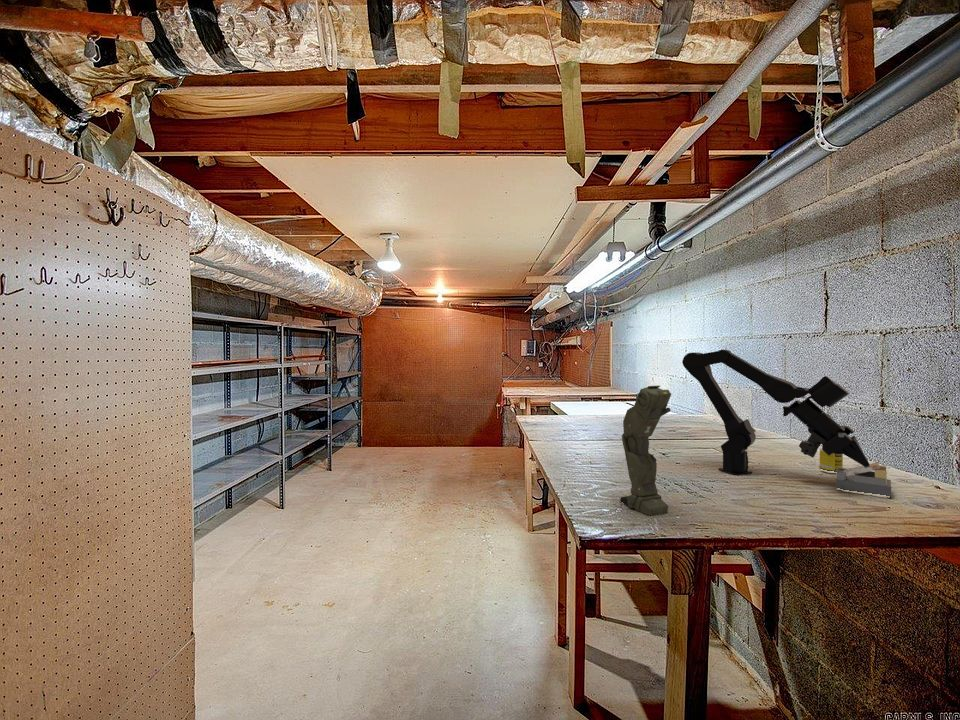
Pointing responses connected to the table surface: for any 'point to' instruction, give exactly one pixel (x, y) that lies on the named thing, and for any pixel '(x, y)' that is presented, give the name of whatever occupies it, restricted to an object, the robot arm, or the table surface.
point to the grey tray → (865, 482)
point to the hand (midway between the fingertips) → (867, 465)
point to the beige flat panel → (861, 469)
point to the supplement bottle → (830, 461)
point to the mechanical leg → (644, 449)
